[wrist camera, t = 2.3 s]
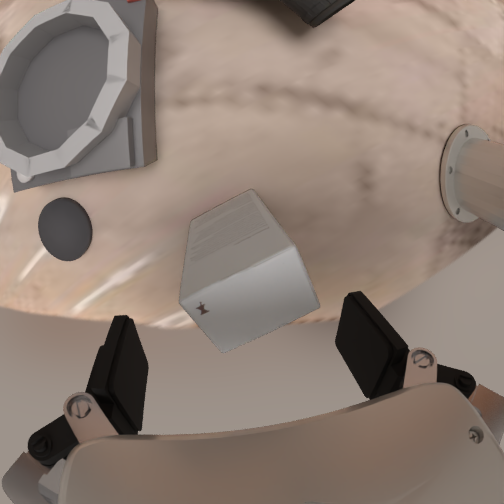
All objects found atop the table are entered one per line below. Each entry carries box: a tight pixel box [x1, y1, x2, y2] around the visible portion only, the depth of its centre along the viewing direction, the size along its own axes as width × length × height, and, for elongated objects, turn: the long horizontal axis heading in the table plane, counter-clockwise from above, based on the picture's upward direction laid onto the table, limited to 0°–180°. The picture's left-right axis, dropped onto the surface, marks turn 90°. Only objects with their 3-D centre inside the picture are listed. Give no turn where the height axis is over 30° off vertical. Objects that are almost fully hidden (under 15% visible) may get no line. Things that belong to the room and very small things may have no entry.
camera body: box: [0, 0, 158, 193], centre depth 13 cm, size 12×14×8 cm
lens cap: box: [38, 198, 92, 261], centre depth 21 cm, size 6×6×1 cm
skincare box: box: [179, 189, 320, 353], centre depth 18 cm, size 6×4×12 cm
